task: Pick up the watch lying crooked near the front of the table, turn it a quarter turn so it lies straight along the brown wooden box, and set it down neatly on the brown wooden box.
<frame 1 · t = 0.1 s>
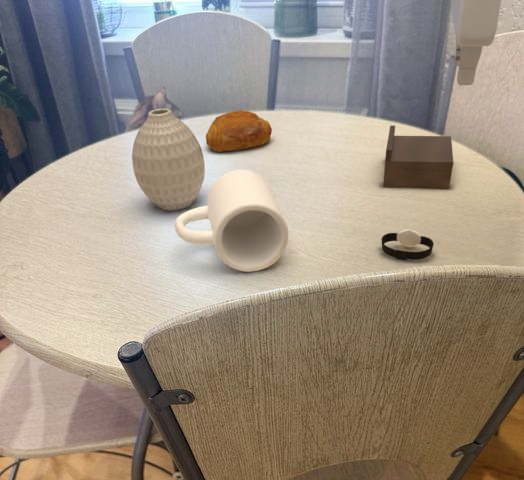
hand: (462, 73, 65), 25 cm above the table, tool pointing down, fingers open, 8 cm apart
croissant: (238, 143, 126), on the table
mug: (231, 254, 85), on the table
watch: (405, 254, 82), on the table
brown wooden box: (416, 173, 105), on the table
vase: (176, 204, 101), on the table
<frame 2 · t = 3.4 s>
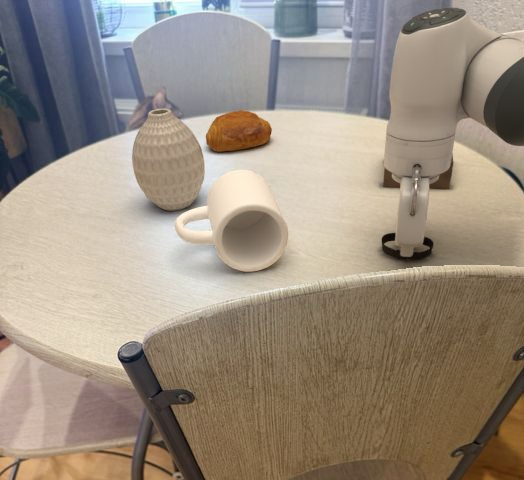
hand: (406, 244, 80), 2 cm above the table, tool pointing down, fingers closed on watch, 4 cm apart
watch: (405, 255, 82), on the table, touching gripper
everything else where it was.
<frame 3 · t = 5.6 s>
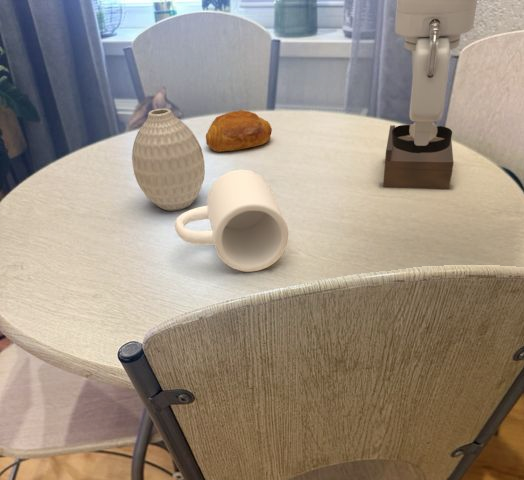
hand: (421, 136, 70), 18 cm above the table, tool pointing down, fingers closed on watch, 4 cm apart
watch: (419, 149, 71), point 16 cm above the table, touching gripper
everything else where it was.
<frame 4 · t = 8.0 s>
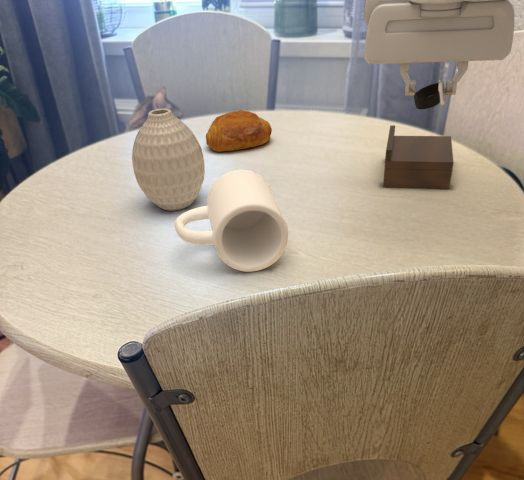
hand: (430, 94, 81), 19 cm above the table, tool pointing down, fingers closed on watch, 4 cm apart
watch: (428, 106, 82), point 17 cm above the table, touching gripper
everything else where it was.
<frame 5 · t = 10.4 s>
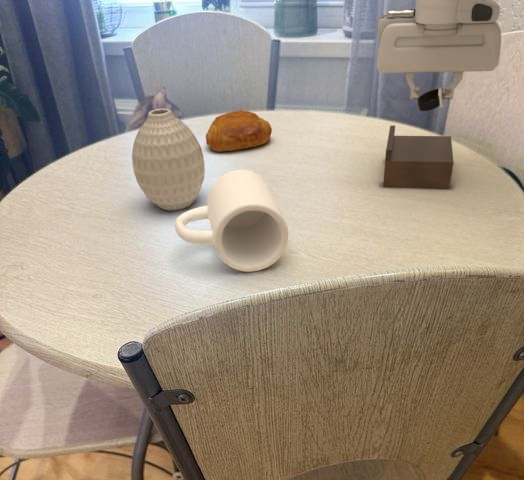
hand: (431, 98, 96), 14 cm above the table, tool pointing down, fingers closed on watch, 4 cm apart
watch: (430, 109, 97), point 12 cm above the table, touching gripper
everything else where it was.
when the fingers open (6 cm above the table, at t = 12.5 s): watch stays where it is, resting on brown wooden box.
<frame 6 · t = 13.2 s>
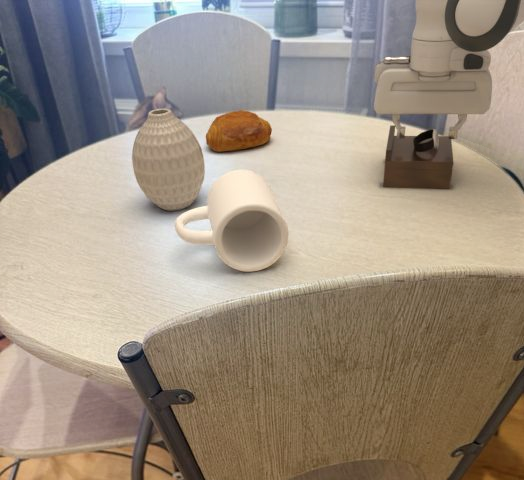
hand: (426, 137, 100), 7 cm above the table, tool pointing down, fingers open, 8 cm apart
watch: (425, 149, 102), point 5 cm above the table, touching brown wooden box
everything else where it was.
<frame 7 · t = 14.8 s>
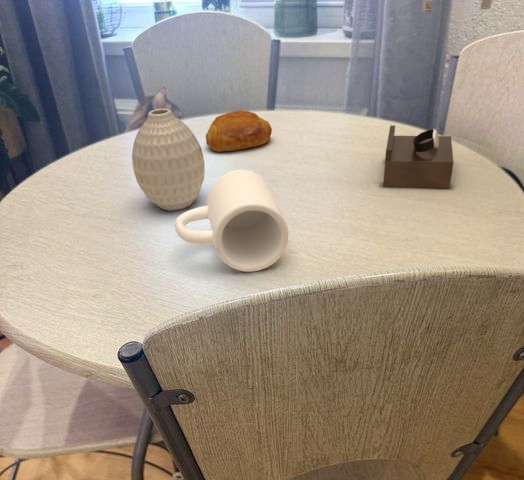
hand: (455, 10, 90), 27 cm above the table, tool pointing down, fingers open, 8 cm apart
nothing on the table moved.
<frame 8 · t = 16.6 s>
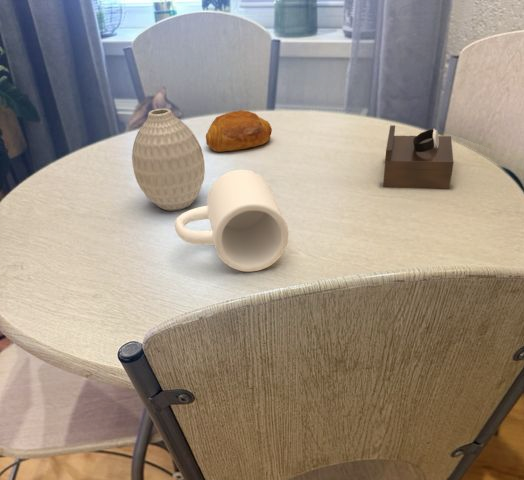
nothing on the table moved.
at the end: watch inside the target area on the brown wooden box (1.1 cm from its centre), point 4.8 cm above the brown wooden box's base; watch tilted 0°; the gripper is holding nothing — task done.
